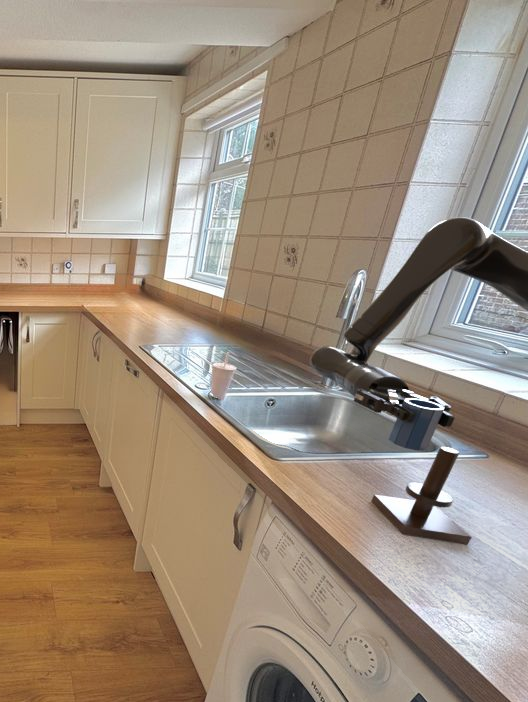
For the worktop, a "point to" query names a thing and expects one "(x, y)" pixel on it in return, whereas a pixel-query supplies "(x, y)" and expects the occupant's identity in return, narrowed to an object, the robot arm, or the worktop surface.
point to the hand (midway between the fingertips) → (430, 420)
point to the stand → (426, 504)
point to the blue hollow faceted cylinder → (417, 425)
